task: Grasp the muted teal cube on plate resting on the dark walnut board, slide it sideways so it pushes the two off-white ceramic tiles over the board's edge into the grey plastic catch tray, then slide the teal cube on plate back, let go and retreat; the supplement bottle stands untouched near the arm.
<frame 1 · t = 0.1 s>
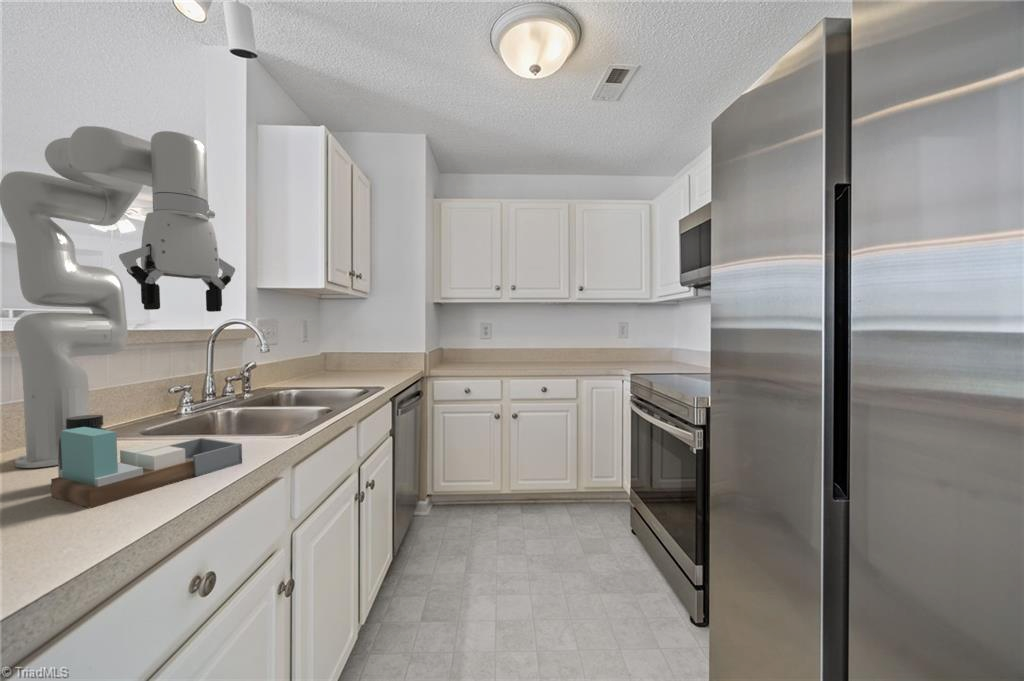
hand: (184, 310, 73), 31 cm above the counter, tool pointing down, fingers open, 9 cm apart
teal cube on plate: (90, 478, 71), point 3 cm above the counter, touching board
catch tray: (199, 465, 86), on the counter
board: (127, 486, 75), on the counter
tile a: (144, 461, 80), point 3 cm above the counter, touching board
supplement bottle: (86, 482, 78), on the counter
tile b: (162, 464, 78), point 3 cm above the counter, touching board
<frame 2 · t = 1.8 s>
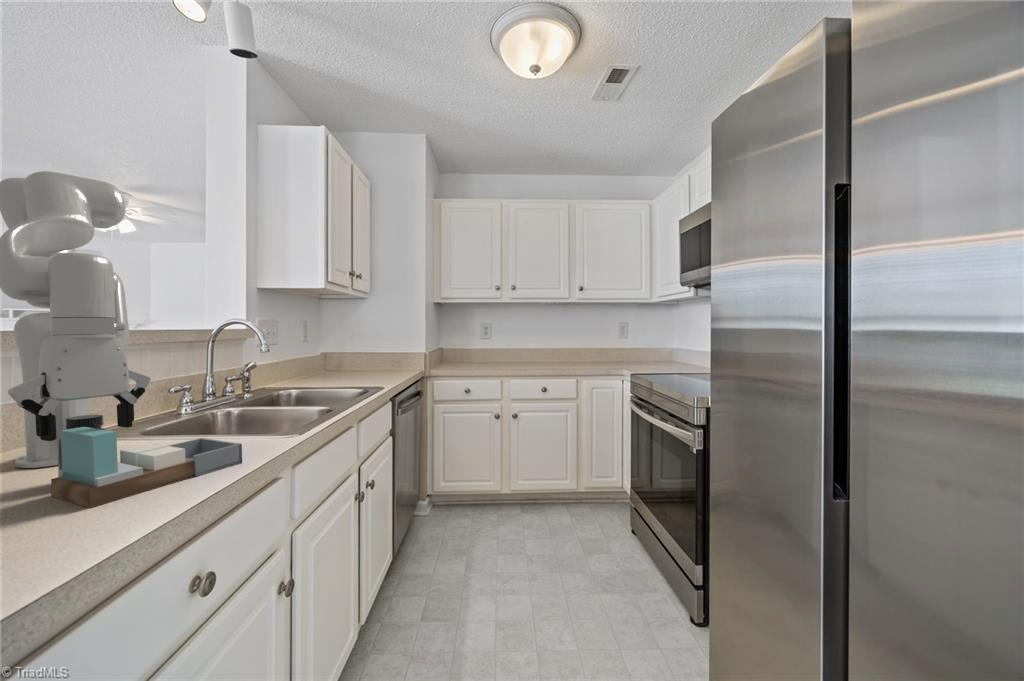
hand: (89, 433, 70), 11 cm above the counter, tool pointing down, fingers open, 9 cm apart
nothing on the counter moved.
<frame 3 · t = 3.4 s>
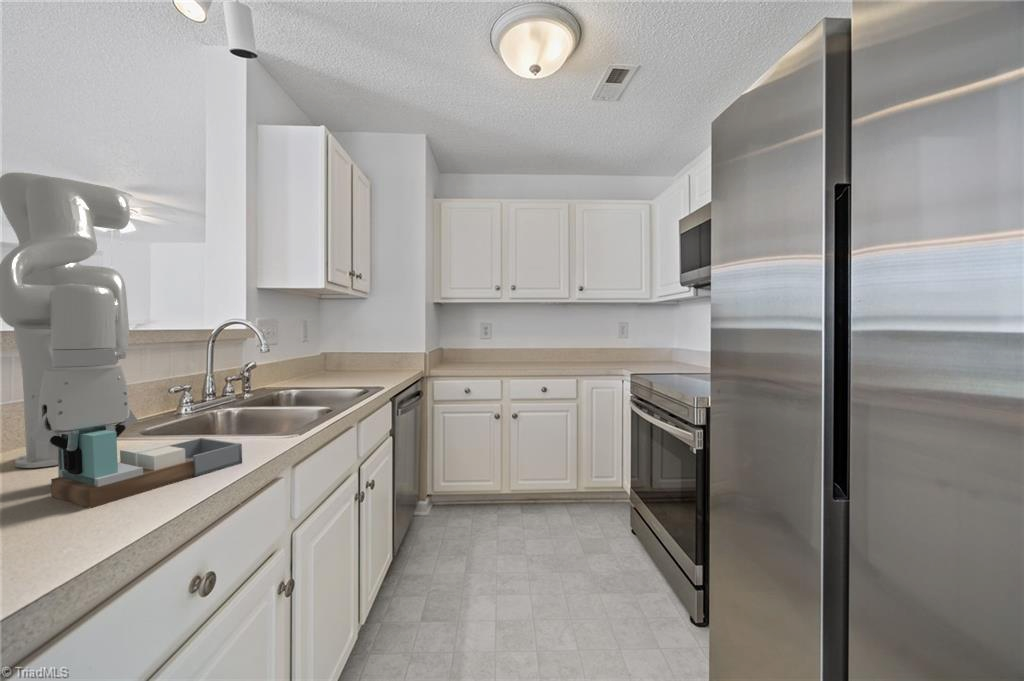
hand: (89, 468, 71), 5 cm above the counter, tool pointing down, fingers closed on teal cube on plate, 3 cm apart
teal cube on plate: (90, 478, 71), point 3 cm above the counter, touching board, gripper
everything else where it was.
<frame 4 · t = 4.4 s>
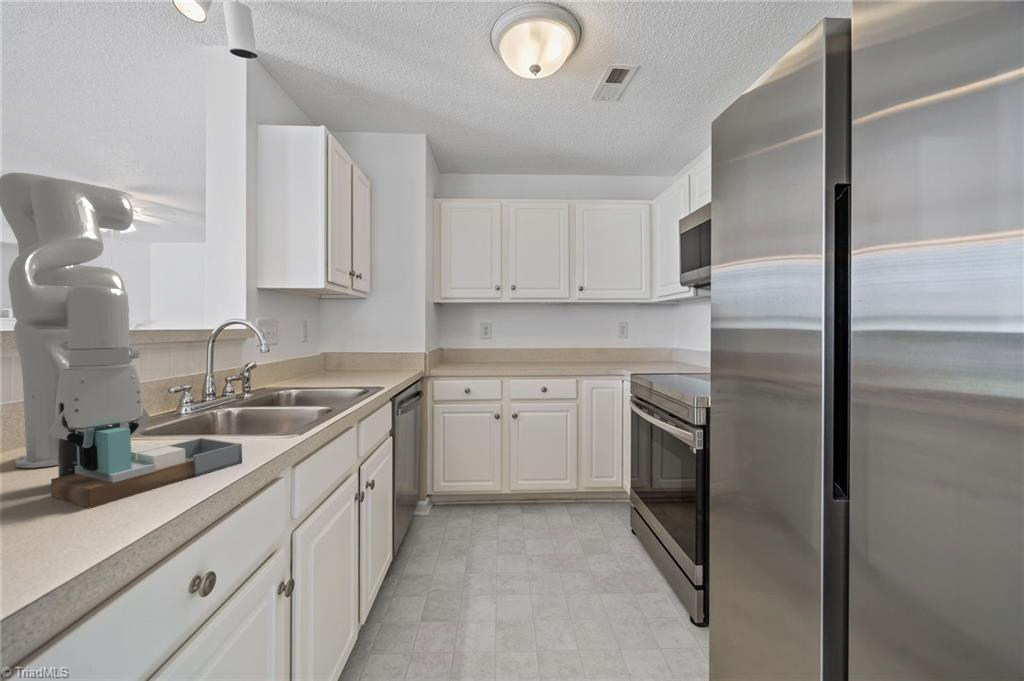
hand: (104, 465, 72), 5 cm above the counter, tool pointing down, fingers closed on teal cube on plate, 3 cm apart
teal cube on plate: (104, 474, 72), point 3 cm above the counter, touching gripper
everything else where it was.
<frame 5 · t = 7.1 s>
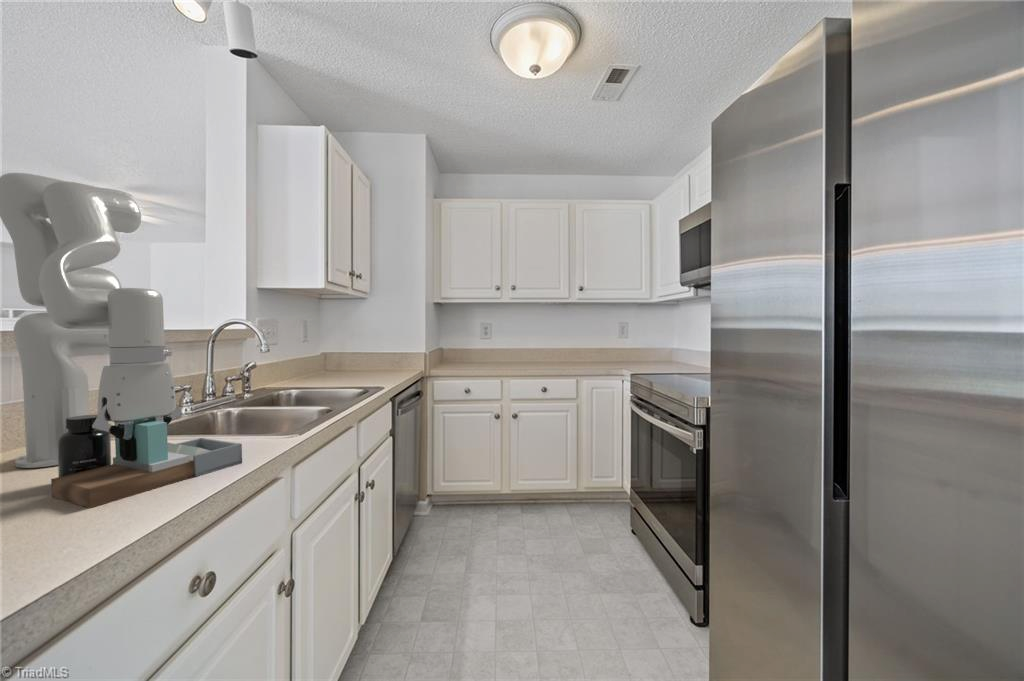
hand: (141, 456, 77), 5 cm above the counter, tool pointing down, fingers closed on teal cube on plate, 3 cm apart
teal cube on plate: (142, 465, 77), point 3 cm above the counter, touching board, gripper
tile a: (178, 458, 85), point 2 cm above the counter, tilted 28°, touching board, catch tray
tile b: (196, 461, 83), point 2 cm above the counter, tilted 29°, touching board, catch tray
everything else where it was.
when the fingers open (5 cm above the counter, at t = 7.8 s): teal cube on plate stays where it is, resting on board.
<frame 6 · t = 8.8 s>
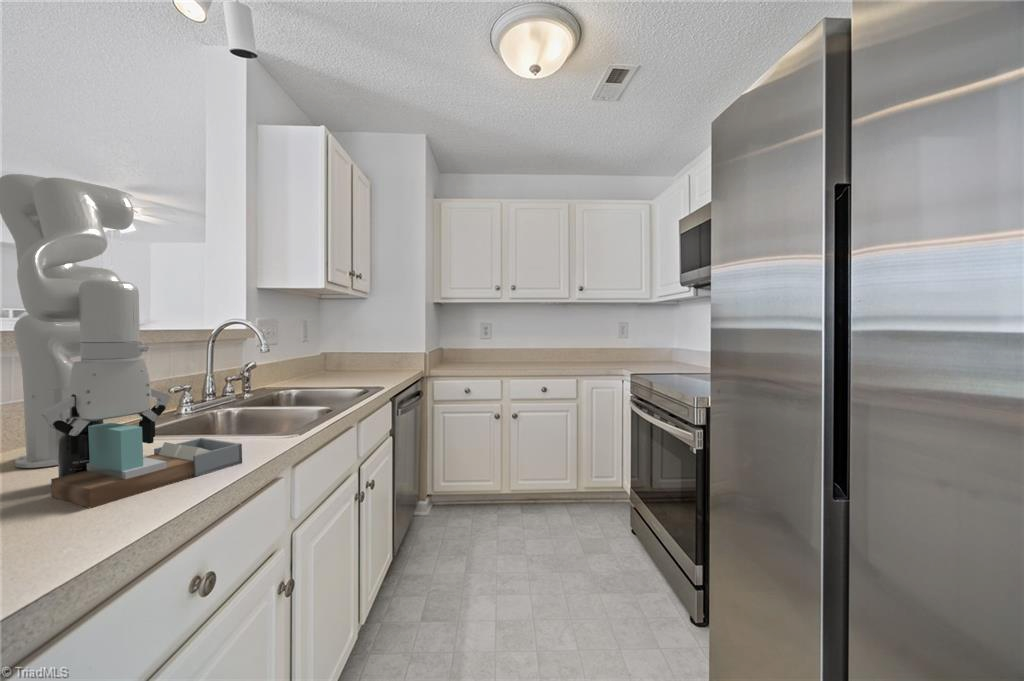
hand: (113, 449, 74), 7 cm above the counter, tool pointing down, fingers open, 9 cm apart
teal cube on plate: (116, 471, 74), point 3 cm above the counter, touching board
everything else where it was.
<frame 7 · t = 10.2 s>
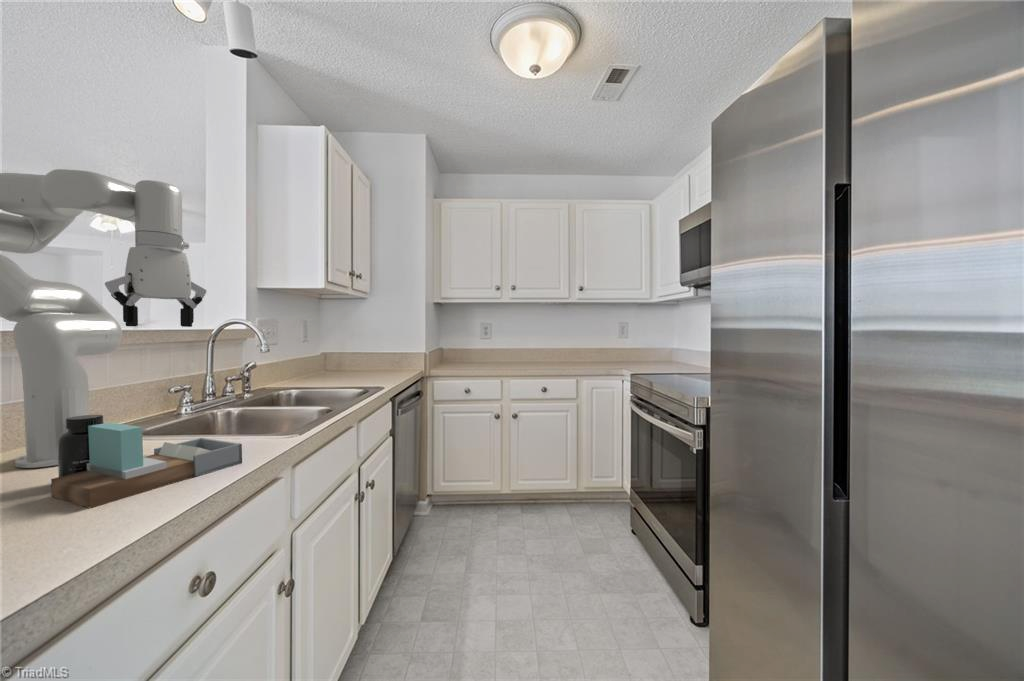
hand: (160, 326, 88), 29 cm above the counter, tool pointing down, fingers open, 9 cm apart
nothing on the counter moved.
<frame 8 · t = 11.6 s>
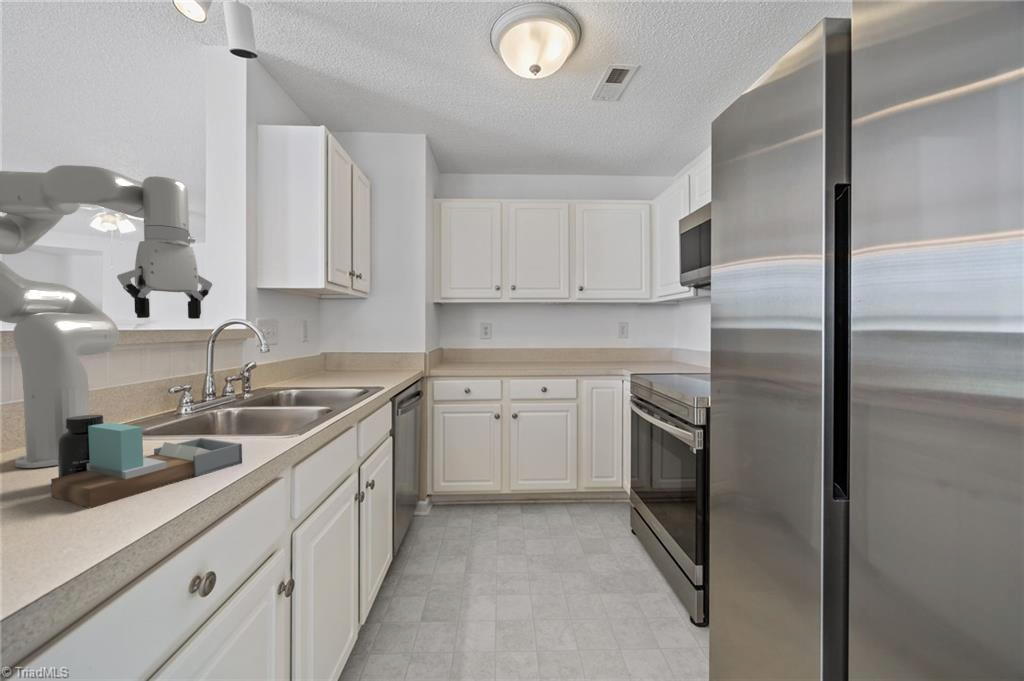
hand: (169, 318, 91), 30 cm above the counter, tool pointing down, fingers open, 9 cm apart
nothing on the counter moved.
at the end: tile a inside the target area (4.5 cm from its centre), point 1.8 cm above the counter; tile b inside the target area (4.6 cm from its centre), point 1.8 cm above the counter; the gripper is holding nothing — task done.
